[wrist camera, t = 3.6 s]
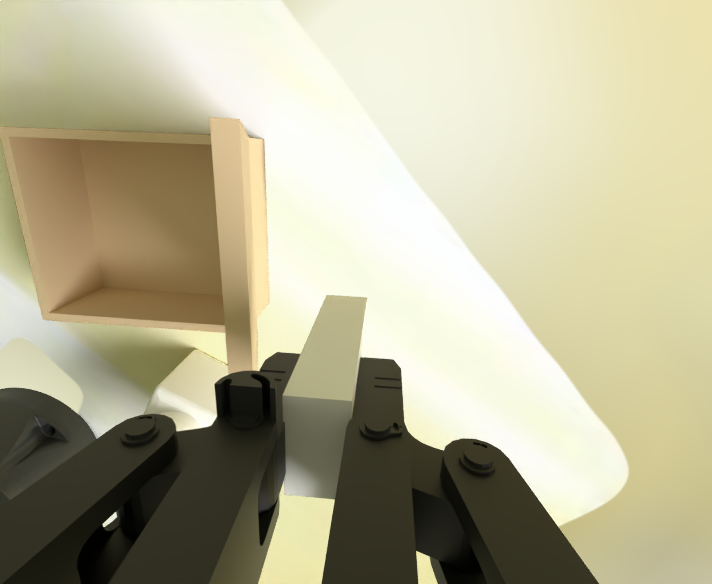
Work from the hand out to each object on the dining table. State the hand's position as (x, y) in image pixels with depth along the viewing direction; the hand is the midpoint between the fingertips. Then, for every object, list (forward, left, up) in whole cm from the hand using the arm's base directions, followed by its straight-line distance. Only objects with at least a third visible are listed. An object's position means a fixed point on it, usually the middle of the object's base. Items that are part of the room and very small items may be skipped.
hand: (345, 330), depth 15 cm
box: (-17, 0, -20) cm, 26 cm away
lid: (-6, 0, -6) cm, 8 cm away
